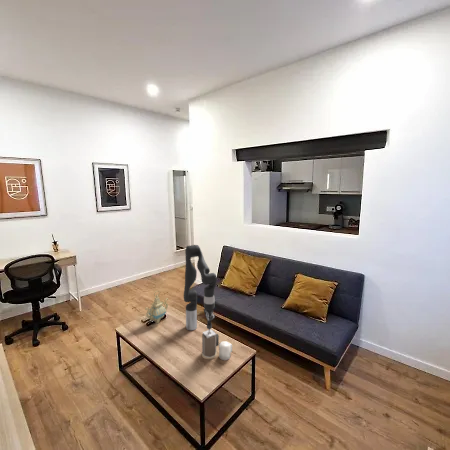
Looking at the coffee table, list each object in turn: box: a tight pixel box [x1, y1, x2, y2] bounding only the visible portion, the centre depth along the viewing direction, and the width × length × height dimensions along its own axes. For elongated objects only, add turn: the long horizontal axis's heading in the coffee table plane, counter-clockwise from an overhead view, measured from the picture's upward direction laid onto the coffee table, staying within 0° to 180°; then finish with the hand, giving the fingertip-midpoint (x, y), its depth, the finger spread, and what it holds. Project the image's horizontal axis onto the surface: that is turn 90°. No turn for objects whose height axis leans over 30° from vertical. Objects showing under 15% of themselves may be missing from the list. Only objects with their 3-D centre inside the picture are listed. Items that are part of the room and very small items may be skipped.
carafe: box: [201, 328, 220, 360], centre depth 179 cm, size 11×13×16 cm
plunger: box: [206, 323, 213, 334], centre depth 178 cm, size 4×4×17 cm
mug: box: [218, 340, 233, 361], centre depth 178 cm, size 8×10×9 cm
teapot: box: [144, 290, 169, 324], centre depth 218 cm, size 24×12×30 cm, turn 144°
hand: (209, 324), depth 177 cm, fingers closed
